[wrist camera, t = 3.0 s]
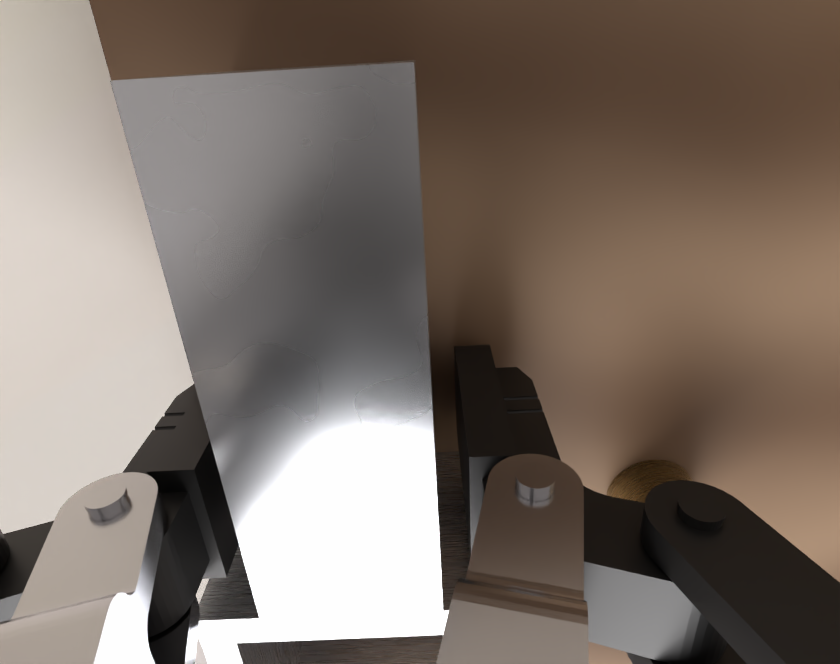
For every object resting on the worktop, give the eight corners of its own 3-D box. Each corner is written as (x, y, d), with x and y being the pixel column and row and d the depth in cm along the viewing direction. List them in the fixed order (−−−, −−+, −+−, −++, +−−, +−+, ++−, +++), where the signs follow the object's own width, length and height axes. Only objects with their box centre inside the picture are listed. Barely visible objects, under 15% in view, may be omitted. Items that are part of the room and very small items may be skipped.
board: (80, -172, 9) (31, -205, 8) (1411, -265, 8) (1561, -313, 7) (287, 649, 17) (279, 688, 16) (930, 623, 17) (964, 661, 16)
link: (165, 75, 9) (0, 87, 5) (482, 56, 9) (526, 55, 5) (291, 612, 15) (252, 787, 11) (484, 604, 15) (506, 779, 11)
